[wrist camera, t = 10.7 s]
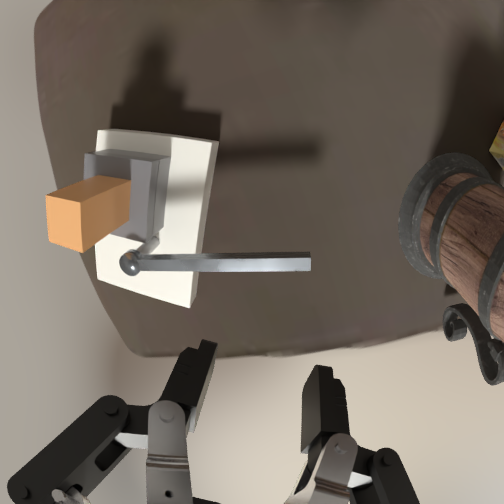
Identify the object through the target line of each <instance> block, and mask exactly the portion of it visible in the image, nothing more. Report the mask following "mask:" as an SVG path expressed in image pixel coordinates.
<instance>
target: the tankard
mask: <svg viewBox="0 0 504 504" xmlns="http://www.w3.org/2000/svg"><path fill="white" fill-rule="evenodd" d="M398 228H399V239H400V243H401V247H402V250H403V252H404V254H405V256H406V258H407V260H408V261H409V263H410V264H411V265H412V266H413V268H414V269H416V270H417V271H418V272H420V273H421V274H423V275H425V276H428V277H431V278H437V279H443V280H444V281H445V282H446V283H447V284H449V285H450V286H451V287H453V288H455V289H456V290H457V291H458V292H459V293H460V294H461V296H462V297H463V298H464V299H465V300H466V301H467V302H468V304H469V305H470V306H471V307H470V306H469V305H467V304H463V303H461V304H456V305H452V306H449V307H447V308H446V310H445V312H444V315H443V329H444V333H445V336H446V338H447V339H448V340H449V341H456V340H459V339H463V338H464V337H465V336H466V333H467V327H468V329H469V331H470V332H471V335H472V337H473V340H474V343H475V347H476V351H477V356H478V361H479V365H480V369H481V372H482V375H483V377H484V379H485V381H486V382H487V383H488V384H490V385H497V384H499V383H501V382H504V187H503V186H501V185H500V184H498V183H496V182H494V181H493V180H492V178H491V176H490V174H489V172H488V171H487V170H486V168H485V167H484V166H483V165H482V164H481V163H480V162H479V161H477V160H476V159H475V158H473V157H471V156H469V155H466V154H462V153H447V154H443V155H440V156H438V157H435V158H433V159H432V160H431V161H429V162H428V163H426V164H425V165H424V166H423V167H422V168H421V169H420V170H419V171H418V172H417V173H416V174H415V176H414V178H413V179H412V181H411V182H410V184H409V185H408V188H407V190H406V192H405V195H404V197H403V200H402V204H401V208H400V212H399V223H398ZM457 316H459V317H460V318H461V319H457ZM490 335H492V336H493V337H494V339H491V336H490ZM497 361H498V363H497Z"/></svg>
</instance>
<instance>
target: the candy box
mask: <svg viewBox="0 0 504 504" xmlns="http://www.w3.org/2000/svg"><path fill="white" fill-rule="evenodd" d="M489 152H490V153H491V154H492V155H493V157H494V158H495V159H496V161H497V162H498V163H499V165H500V166H501V167H502V169H503V170H504V120H503V122H502V124H501V126H500V128H499V131H498V133H497V135H496V137H495V139H494V141H493V143H492V146H491V148H490V150H489Z"/></svg>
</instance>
